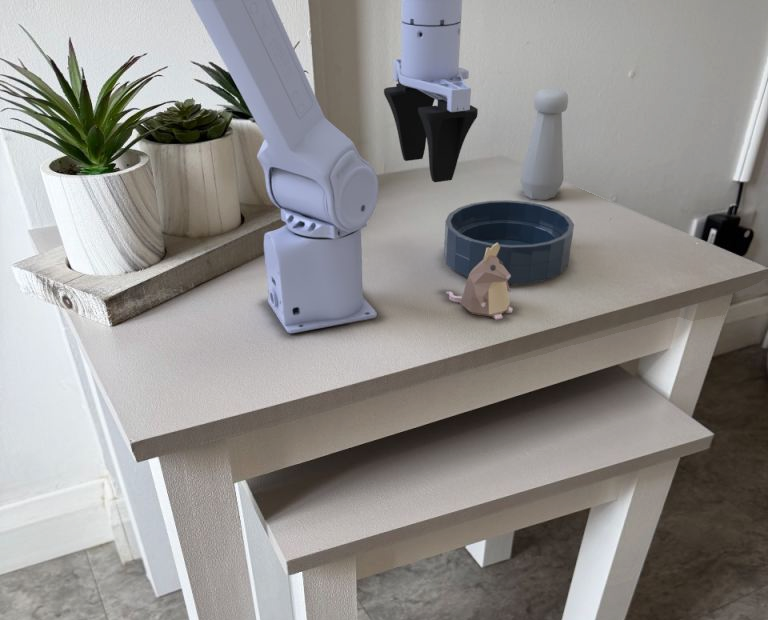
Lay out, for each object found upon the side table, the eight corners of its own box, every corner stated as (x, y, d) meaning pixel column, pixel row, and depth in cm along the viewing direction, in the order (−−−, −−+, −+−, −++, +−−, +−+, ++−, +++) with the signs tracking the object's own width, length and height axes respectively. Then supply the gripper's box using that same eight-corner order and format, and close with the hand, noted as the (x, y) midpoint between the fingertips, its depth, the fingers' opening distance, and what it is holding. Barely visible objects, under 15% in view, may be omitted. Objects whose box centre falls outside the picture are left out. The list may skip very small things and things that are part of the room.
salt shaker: (560, 203, 106) (574, 96, 97) (517, 200, 106) (528, 94, 98) (561, 189, 110) (575, 85, 102) (520, 186, 111) (530, 83, 102)
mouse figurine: (460, 285, 86) (464, 224, 82) (521, 307, 82) (528, 244, 78) (430, 301, 83) (432, 238, 79) (491, 324, 79) (497, 260, 75)
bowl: (478, 296, 84) (481, 255, 81) (424, 248, 94) (425, 210, 91) (592, 275, 88) (599, 235, 85) (528, 230, 98) (533, 194, 95)
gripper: (504, 30, 71) (491, 185, 80) (437, 7, 82) (433, 146, 90) (433, 36, 69) (428, 194, 78) (374, 11, 80) (375, 153, 88)
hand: (427, 169), depth 84 cm, fingers open, 7 cm apart
